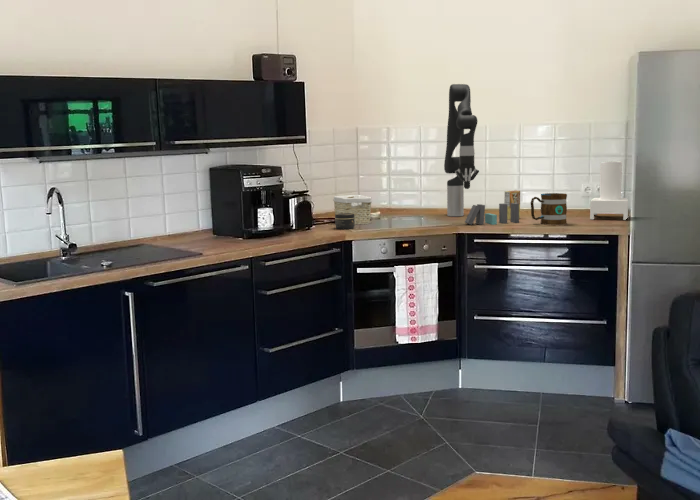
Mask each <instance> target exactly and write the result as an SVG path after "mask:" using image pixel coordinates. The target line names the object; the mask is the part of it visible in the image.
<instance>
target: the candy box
mask: <svg viewBox="0 0 700 500" xmlns="http://www.w3.org/2000/svg"><path fill="white" fill-rule="evenodd" d="M503 199H504V201H503V202H504V204H507V221H508V220H510V221H511V203H518V204H519V219H521V190H516V189H515V190H507V191H506V190H505V191H504V198H503Z"/></svg>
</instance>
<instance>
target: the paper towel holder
mask: <svg viewBox="0 0 700 500" xmlns="http://www.w3.org/2000/svg"><path fill="white" fill-rule="evenodd" d="M622 162H623V161H618V160H617V161H613V160H612V161H600V162H599V164H600V165H599V167H600V168H599V197H593V198H592V199H591V200H590V201H589V202H590V204H589V207H590V208H589V210H590V211H589V220H595V216H594V215H597V216H598V215H600V214H605V215H606V214H608V215H609V214H614V215H623V218H622V220H623V221H627V220H626V219H627V218H628V219H629V216H628V199H627V198H628V197H622V171H623V163H622Z"/></svg>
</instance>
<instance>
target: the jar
mask: <svg viewBox="0 0 700 500" xmlns="http://www.w3.org/2000/svg"><path fill="white" fill-rule="evenodd" d="M334 217H335V218H334V219H335V221H334V222H335V228H336V229H337V230H344V231H345V230H352V229H354V228H355V225H356V224H355V220H354V218H355V216H354V214H353V213H338V214H335V213H334Z"/></svg>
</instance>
